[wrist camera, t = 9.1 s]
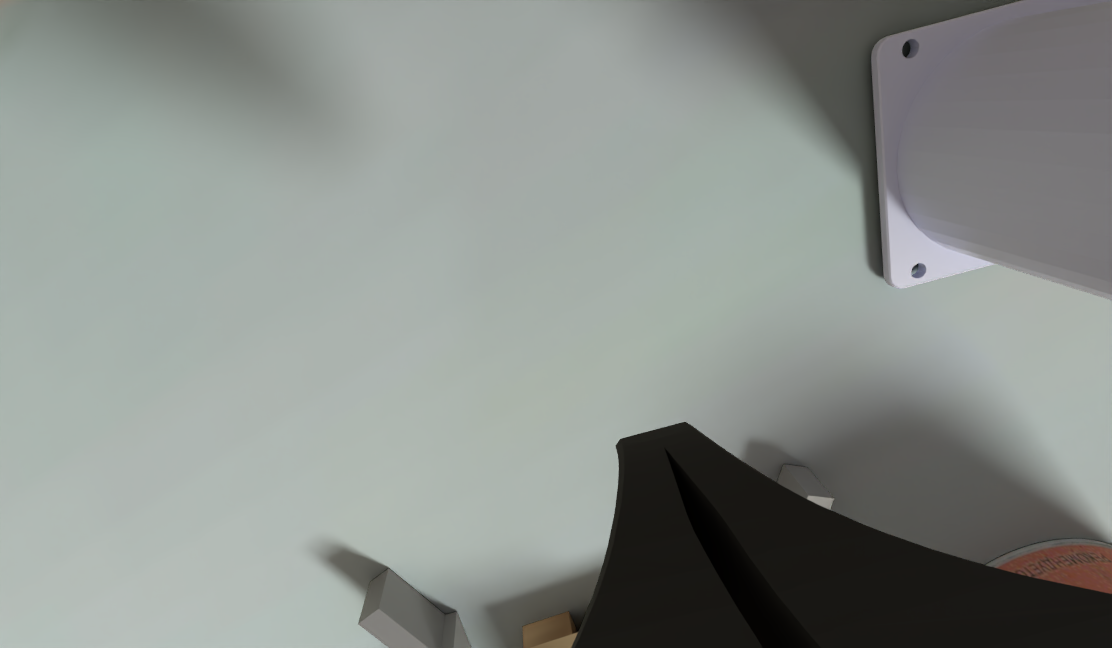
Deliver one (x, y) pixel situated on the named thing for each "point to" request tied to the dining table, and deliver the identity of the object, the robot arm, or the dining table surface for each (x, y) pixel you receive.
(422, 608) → the dock
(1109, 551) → the canned food
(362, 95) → the dining table surface
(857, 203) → the dining table surface
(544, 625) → the pallet
